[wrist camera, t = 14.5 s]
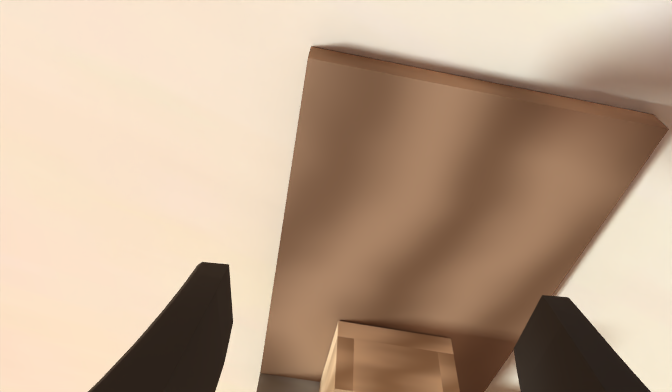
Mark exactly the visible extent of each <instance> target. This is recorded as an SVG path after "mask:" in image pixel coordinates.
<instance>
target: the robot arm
mask: <svg viewBox="0 0 672 392" xmlns="http://www.w3.org/2000/svg"><path fill="white" fill-rule="evenodd" d="M232 324H233V314H232V300H231V287H230V273H229V265H228V264H217V263H207V262H202V263H200V264H199V265H197V267H196V268H195V270H194V271H193V272H192V274H191V275H190V277H189V278H188V279H187V281H186V282H185V283H184V285H183V286H182V287H181V289H180V290H179V291H178V292H177V294H176V295H175V296H174V297H173V299H172V300H171V301H170V302H169V304H168V305H167V306H166V307H165V309H164V310H163V311H162V312H161V314H160V315H159V316H158V317H157V318H156V319H155V321H154V322H153V323H152V324H151V325H150V326H149V328H148V329H147V330H146V331H145V332H144V333H143V335H142V336H141V337H140V338H139V339H138V340H137V341H136V343H135V344H134V345H133V346H132V347H131V348H130V349H129V350H128V351H127V352H126V353H125V354H124V355H123V356H122V358H121V359H120V360H119V361H118V362H117V363H116V364H115V365H114V366H113V367H112V368H111V369H110V370H109V371H108V372H107V373H106V374H105V376H104V377H103V378H102V379H101V380H100V381H99V382H98V383H97V384H96V385H95V386H94V387H92V388H91V389H90V390H89V391H88V392H215V390H216V387H217V384H218V381H219V378H220V375H221V372H222V369H223V365H224V362H225V357H226V353H227V348H228V343H229V339H230V334H231V329H232ZM514 353H515V360H516V367H517V373H518V379H519V384H520V390H521V392H651V391H650V390H649V389H648V388H647V387H646V386H645V385H644V384H643V383H642V382H641V380H640V379H639V378H638V377H637V376H636V375H635V374H634V373H633V371H632V370H631V369H630V368H629V367H628V366H627V365H626V363H625V362H624V361H623V360H622V359H621V358H620V357H619V355H618V354H617V353H616V352H615V351H614V350H613V349H612V347H611V346H610V345H609V344H608V343H607V342H606V340H605V339H604V338H603V337H602V336H601V335H600V333H599V332H598V331H597V330H596V329H595V328H594V326H593V325H592V324H591V323H590V322H589V320H588V319H587V318H586V317H585V316H584V315H583V313H582V312H581V311H580V310H579V309H578V308H577V307H576V305H575V304H574V303H573V302H572V301H571V300H570V299H569V298H568V297H558V296H547V295H542V296H541V298H540V300H539V302H538V304H537V306H536V307H535V309H534V311H533V313H532V315H531V317H530V319H529V321H528V322H527V324H526V326H525V328H524V330H523V332H522V334H521V336H520V337H519V339H518V341H517V343H516V345H515V347H514Z"/></svg>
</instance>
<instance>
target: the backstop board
mask: <svg viewBox="0 0 672 392" xmlns="http://www.w3.org/2000/svg"><path fill="white" fill-rule="evenodd" d="M668 130H669V129H668V128H667V127H666V126H665V125H664V124H663V123H662V122H661V121H660V120H659V119H658V118H657V117H655V116H654V115H653V114H648V113H643V112H638V111H633V110H628V109H623V108H618V107H613V106H608V105H603V104H598V103H593V102H588V101H583V100H578V99H573V98H568V97H563V96H558V95H553V94H548V93H543V92H538V91H532V90H527V89H522V88H517V87H512V86H507V85H502V84H497V83H492V82H487V81H482V80H477V79H472V78H467V77H462V76H457V75H452V74H447V73H442V72H437V71H432V70H427V69H422V68H417V67H412V66H407V65H402V64H397V63H392V62H387V61H382V60H377V59H372V58H367V57H362V56H357V55H352V54H347V53H342V52H337V51H332V50H327V49H321V48H316V47H311V49H310V52H309V56H308V61H307V68H306V75H305V81H304V88H303V94H302V101H301V108H300V114H299V121H298V127H297V134H296V141H295V147H294V154H293V160H292V167H291V174H290V180H289V187H288V193H287V200H286V207H285V213H284V220H283V226H282V233H281V240H280V246H279V253H278V259H277V266H276V273H275V279H274V286H273V292H272V299H271V306H270V312H269V319H268V325H267V332H266V339H265V345H264V352H263V359H262V365H261V372H260V377H259V382H258V387H257V392H319V387H320V381H321V378H322V374H323V371H324V368H325V364H326V361H327V358H328V354H329V351H330V347H331V344H332V341H333V337H334V334H335V331H336V327H337V324H338V321H343V322H349V323H355V324H362V325H368V326H374V327H381V328H387V329H393V330H400V331H406V332H412V333H418V334H425V335H431V336H437V337H444V338H450V339H451V342H452V348H453V354H454V360H455V366H456V372H457V377H458V383H459V389H460V392H484V391H485V390H486V388H487V387H488V386H489V384H490V383H491V381H492V380H493V378H494V377H495V376H496V374H497V373H498V371H499V370H500V369H501V367H502V366H503V364H504V363H505V361H506V360H507V359H508V357H509V356H510V354H511V353H512V351H513V350H514V347H515V345H516V343H517V341H518V339H519V337H520V336H521V334H522V332H523V330H524V328H525V326H526V324H527V322H528V321H529V319H530V317H531V315H532V313H533V311H534V309H535V307H536V306H537V304H538V302H539V300H540V298H541V296H542V295H547V296H552V295H553V293H554V292H555V290H556V289H557V287H558V286H559V285H560V283H561V282H562V280H563V279H564V277H565V276H566V275H567V273H568V272H569V270H570V269H571V268H572V266H573V265H574V263H575V262H576V260H577V259H578V258H579V256H580V255H581V253H582V252H583V250H584V249H585V248H586V246H587V245H588V243H589V242H590V241H591V239H592V238H593V236H594V235H595V233H596V232H597V231H598V229H599V228H600V226H601V225H602V223H603V222H604V221H605V219H606V218H607V216H608V215H609V214H610V212H611V211H612V209H613V208H614V206H615V205H616V204H617V202H618V201H619V199H620V198H621V196H622V195H623V194H624V192H625V191H626V189H627V188H628V186H629V185H630V184H631V182H632V181H633V179H634V178H635V177H636V175H637V174H638V172H639V171H640V169H641V168H642V167H643V165H644V164H645V162H646V161H647V159H648V158H649V157H650V155H651V154H652V152H653V151H654V150H655V148H656V147H657V145H658V144H659V142H660V141H661V140H662V138H663V137H664V135H665V134H666V132H667V131H668Z"/></svg>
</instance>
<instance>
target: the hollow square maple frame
mask: <svg viewBox="0 0 672 392" xmlns="http://www.w3.org/2000/svg"><path fill="white" fill-rule="evenodd" d="M319 392H460V389H459V383H458V377H457V372H456V366H455V360H454V354H453V348H452V342H451V339H450V338H444V337H437V336H431V335H425V334H418V333H412V332H406V331H400V330H393V329H387V328H381V327H374V326H368V325H362V324H355V323H349V322H343V321H338V324H337V327H336V331H335V334H334V337H333V341H332V344H331V347H330V351H329V354H328V358H327V361H326V364H325V368H324V371H323V374H322V378H321V381H320V387H319Z"/></svg>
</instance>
